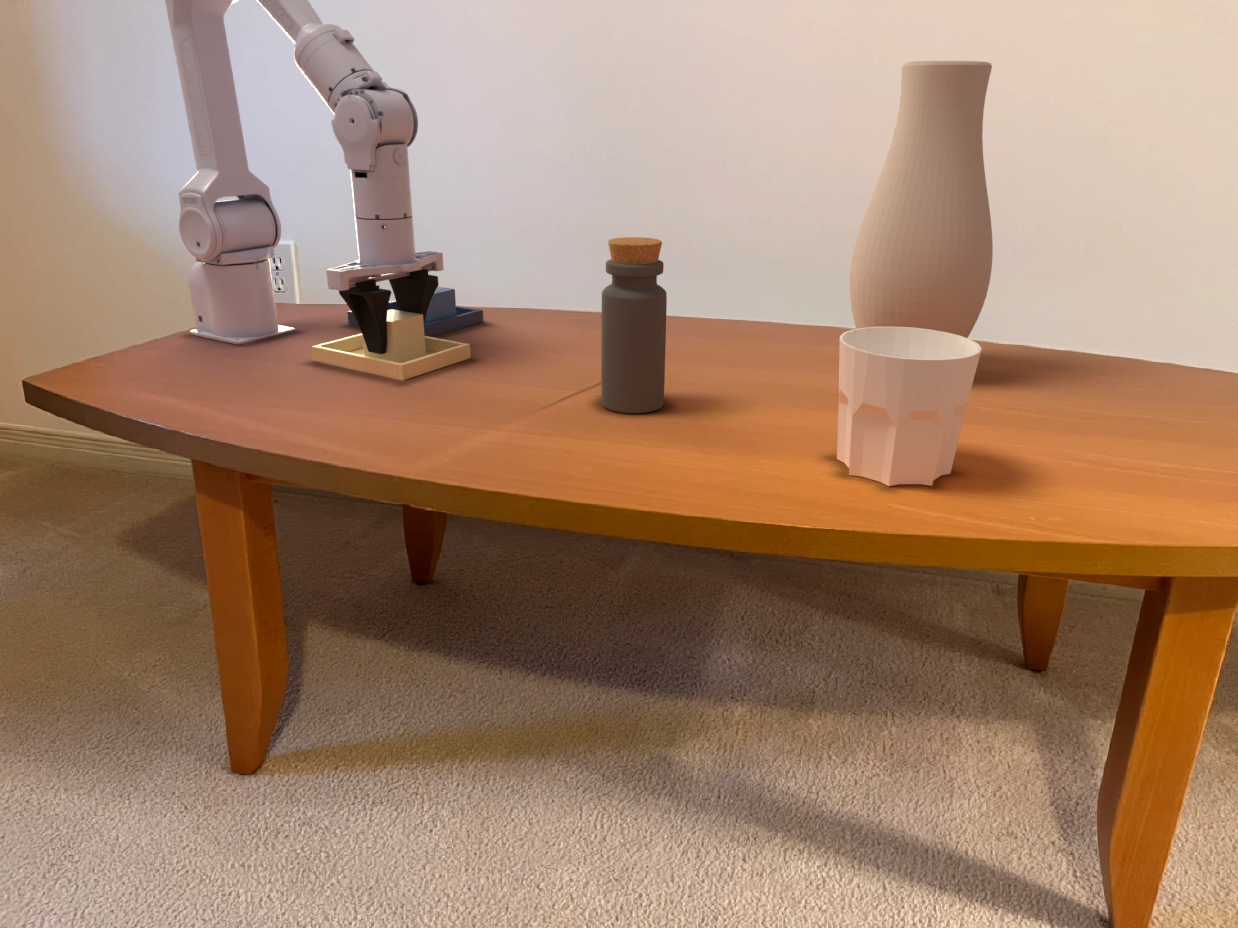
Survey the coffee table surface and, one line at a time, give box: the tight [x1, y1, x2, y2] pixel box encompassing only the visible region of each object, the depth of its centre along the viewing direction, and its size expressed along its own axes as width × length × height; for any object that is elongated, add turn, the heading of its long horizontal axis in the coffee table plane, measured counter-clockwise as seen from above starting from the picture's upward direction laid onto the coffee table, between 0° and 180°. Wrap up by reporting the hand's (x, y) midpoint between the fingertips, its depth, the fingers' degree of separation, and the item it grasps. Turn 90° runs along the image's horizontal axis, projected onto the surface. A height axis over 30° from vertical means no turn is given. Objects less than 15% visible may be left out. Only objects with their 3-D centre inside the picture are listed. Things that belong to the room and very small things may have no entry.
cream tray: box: [311, 332, 471, 381], centre depth 96 cm, size 13×10×2 cm
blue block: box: [424, 286, 457, 324], centre depth 109 cm, size 5×5×5 cm
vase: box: [849, 60, 994, 339], centre depth 91 cm, size 14×14×30 cm
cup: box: [836, 327, 983, 487], centre depth 68 cm, size 10×10×10 cm
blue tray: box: [347, 299, 484, 337], centre depth 112 cm, size 13×10×2 cm
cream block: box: [362, 309, 426, 363], centre depth 96 cm, size 5×5×5 cm
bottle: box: [600, 236, 668, 414], centre depth 81 cm, size 6×6×15 cm
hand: (395, 347), depth 96 cm, fingers closed on cream block, 5 cm apart
